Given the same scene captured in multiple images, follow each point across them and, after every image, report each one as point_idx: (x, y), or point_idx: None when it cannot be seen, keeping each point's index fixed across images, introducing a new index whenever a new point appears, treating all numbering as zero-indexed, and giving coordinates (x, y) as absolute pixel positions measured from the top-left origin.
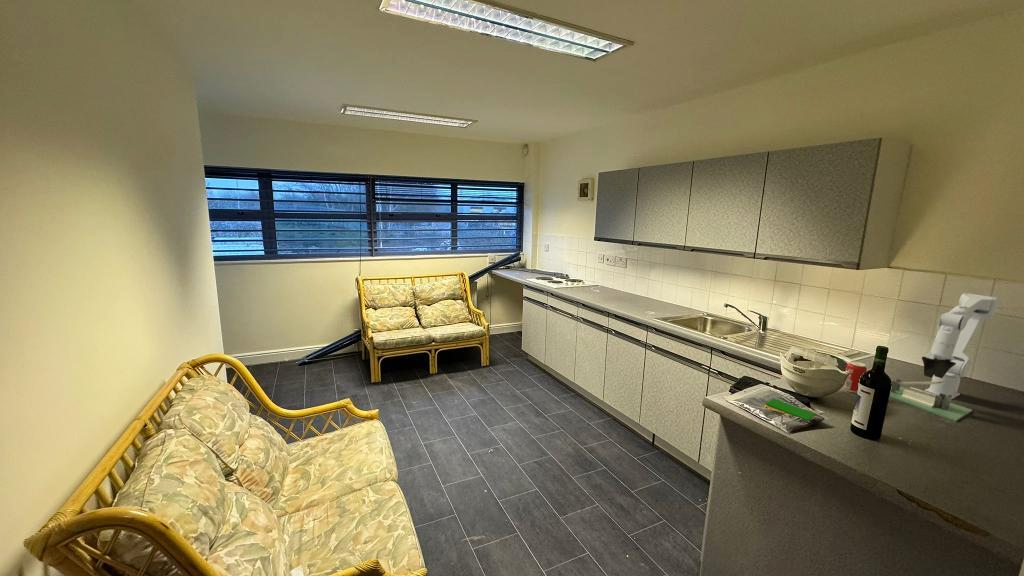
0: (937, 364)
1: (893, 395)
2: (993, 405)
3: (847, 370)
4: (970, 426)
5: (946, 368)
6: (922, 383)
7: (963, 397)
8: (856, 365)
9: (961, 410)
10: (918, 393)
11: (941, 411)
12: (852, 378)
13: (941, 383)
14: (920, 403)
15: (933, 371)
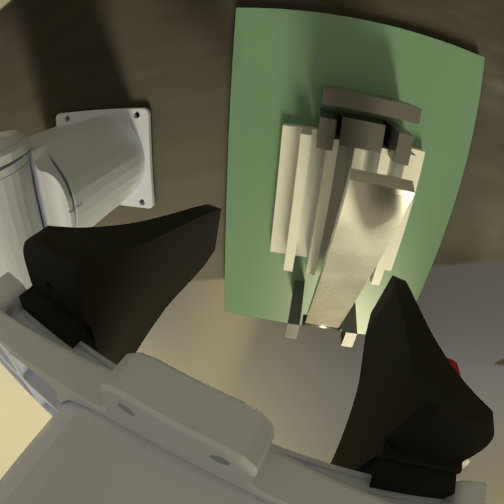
0: (477, 402)
1: None
2: (60, 13)
3: None
4: (476, 10)
5: (153, 251)
6: (373, 267)
7: (72, 95)
8: (467, 463)
9: (313, 34)
10: None
11: (434, 109)
12: None
13: (411, 191)
14: None
15: (424, 326)
